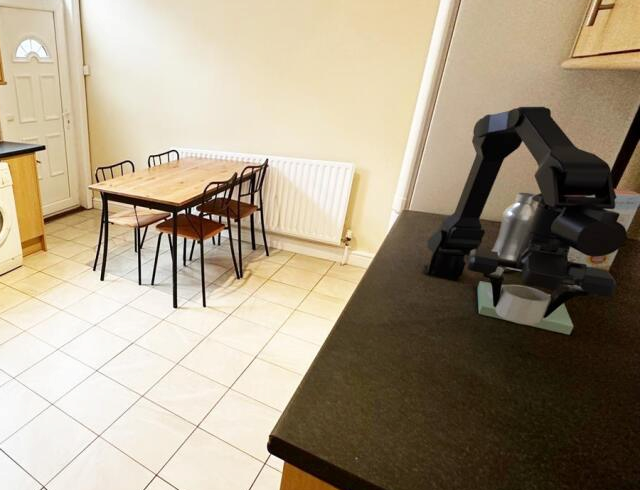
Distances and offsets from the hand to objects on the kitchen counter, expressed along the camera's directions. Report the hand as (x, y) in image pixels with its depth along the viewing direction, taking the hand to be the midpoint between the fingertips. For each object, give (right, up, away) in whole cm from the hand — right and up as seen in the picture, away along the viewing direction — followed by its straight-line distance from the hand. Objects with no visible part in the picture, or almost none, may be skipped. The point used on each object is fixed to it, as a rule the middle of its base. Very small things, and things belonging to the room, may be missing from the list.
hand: (518, 311), depth 77 cm
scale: (+12, -1, +13) cm, 18 cm away
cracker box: (+40, +7, +30) cm, 50 cm away
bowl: (0, -1, 0) cm, 1 cm away
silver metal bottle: (+24, +7, +31) cm, 40 cm away
